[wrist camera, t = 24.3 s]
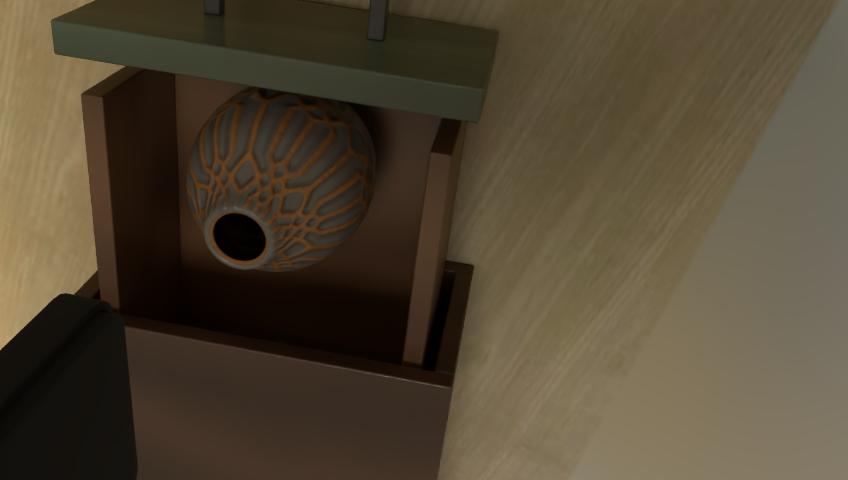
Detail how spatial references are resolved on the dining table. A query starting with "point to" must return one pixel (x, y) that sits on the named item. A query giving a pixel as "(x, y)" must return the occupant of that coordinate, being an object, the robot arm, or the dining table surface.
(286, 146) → the vase
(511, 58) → the dining table surface
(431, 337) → the drawer
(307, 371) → the cabinet
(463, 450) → the dining table surface
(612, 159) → the dining table surface
